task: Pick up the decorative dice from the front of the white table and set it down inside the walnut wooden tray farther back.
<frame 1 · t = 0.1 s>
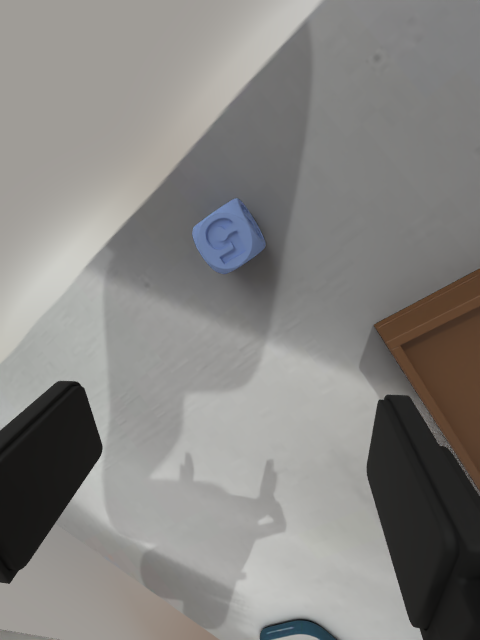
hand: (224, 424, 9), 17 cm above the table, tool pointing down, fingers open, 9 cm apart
decorative dice: (233, 233, 24), on the table
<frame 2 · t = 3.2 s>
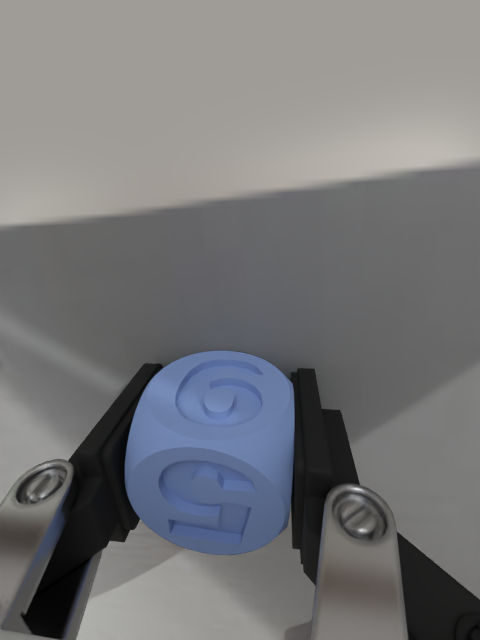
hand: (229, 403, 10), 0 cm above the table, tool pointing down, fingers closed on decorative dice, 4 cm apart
decorative dice: (231, 394, 11), on the table, touching gripper
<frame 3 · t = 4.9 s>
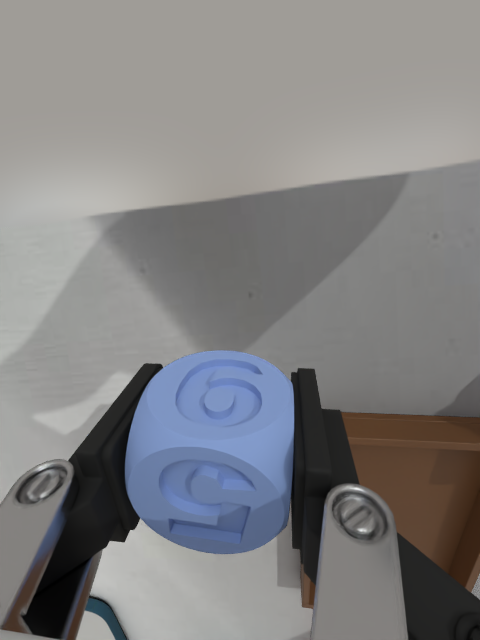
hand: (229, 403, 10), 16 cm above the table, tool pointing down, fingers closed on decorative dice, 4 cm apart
external hard drive: (98, 628, 53), on the table
decorative dice: (231, 394, 11), point 15 cm above the table, touching gripper
tray: (383, 512, 33), on the table
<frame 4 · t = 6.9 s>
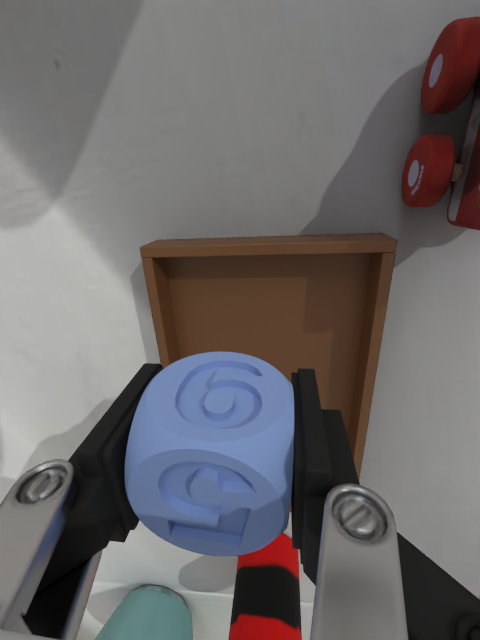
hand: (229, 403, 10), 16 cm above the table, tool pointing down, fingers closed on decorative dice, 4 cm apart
soda can: (268, 544, 39), on the table
bowl: (160, 598, 49), on the table
toy fire truck: (466, 126, 19), on the table
decorative dice: (231, 395, 11), point 15 cm above the table, touching gripper
tray: (266, 382, 29), on the table
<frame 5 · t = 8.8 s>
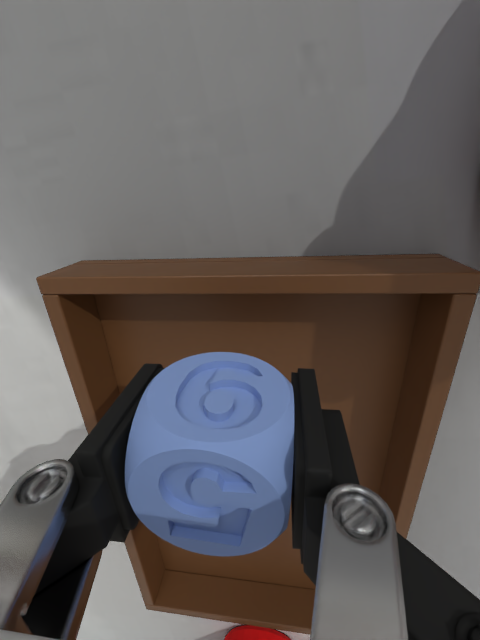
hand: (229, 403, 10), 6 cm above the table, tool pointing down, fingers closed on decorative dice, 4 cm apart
soda can: (260, 639, 31), on the table
decorative dice: (231, 395, 11), point 6 cm above the table, touching gripper
tray: (253, 460, 20), on the table
when the fingers open (1 cm above the table, at t = 10.6 s): decorative dice stays where it is, resting on tray.
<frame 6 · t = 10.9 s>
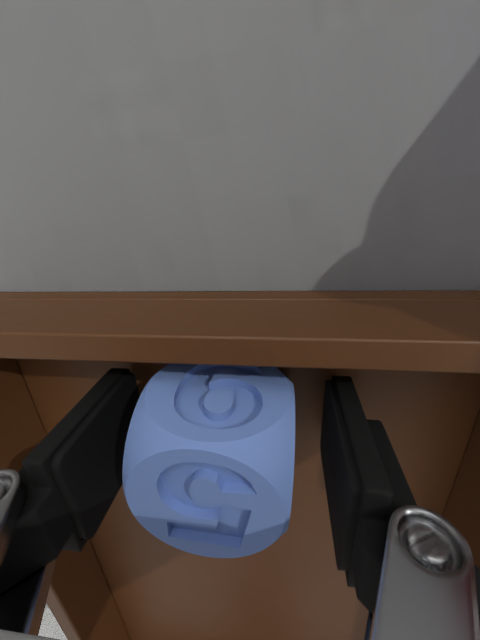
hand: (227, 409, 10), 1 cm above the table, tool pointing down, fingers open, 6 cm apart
decorative dice: (231, 394, 11), point 1 cm above the table, touching tray
tray: (244, 545, 15), on the table
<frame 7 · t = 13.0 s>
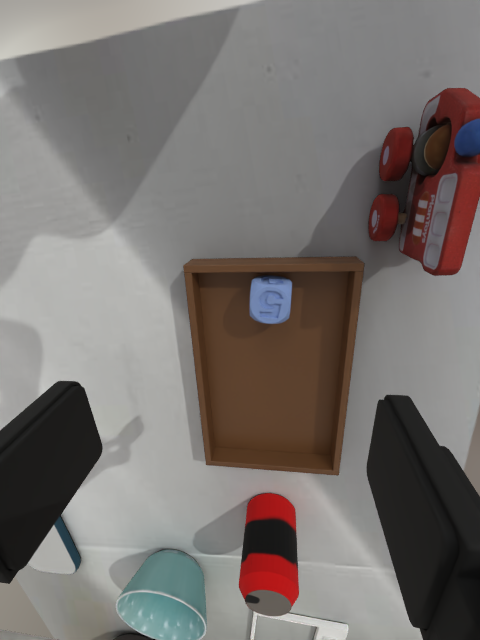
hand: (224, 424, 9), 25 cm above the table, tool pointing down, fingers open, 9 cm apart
external hard drive: (42, 524, 57), on the table
soda can: (271, 507, 47), on the table
photo frame: (295, 632, 61), on the table
bowl: (176, 562, 57), on the table
toy fire truck: (410, 186, 28), on the table
decorative dice: (271, 292, 33), point 1 cm above the table, touching tray
tray: (271, 367, 37), on the table
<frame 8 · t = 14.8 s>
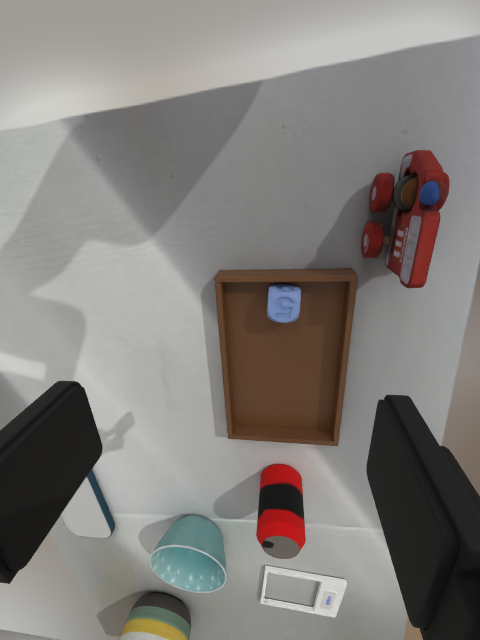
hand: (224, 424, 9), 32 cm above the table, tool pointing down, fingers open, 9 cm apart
external hard drive: (82, 494, 66), on the table
soda can: (281, 476, 56), on the table
photo frame: (301, 588, 70), on the table
bowl: (198, 526, 66), on the table
toy fire truck: (394, 214, 35), on the table
decorative dice: (283, 297, 41), point 1 cm above the table, touching tray
vase: (165, 602, 81), on the table
tray: (282, 358, 45), on the table
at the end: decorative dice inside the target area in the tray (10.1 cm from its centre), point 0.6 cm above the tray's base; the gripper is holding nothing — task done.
